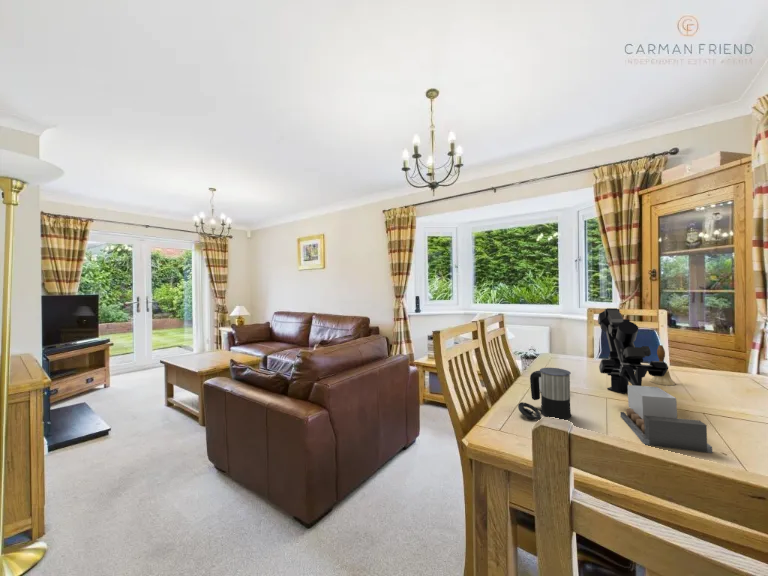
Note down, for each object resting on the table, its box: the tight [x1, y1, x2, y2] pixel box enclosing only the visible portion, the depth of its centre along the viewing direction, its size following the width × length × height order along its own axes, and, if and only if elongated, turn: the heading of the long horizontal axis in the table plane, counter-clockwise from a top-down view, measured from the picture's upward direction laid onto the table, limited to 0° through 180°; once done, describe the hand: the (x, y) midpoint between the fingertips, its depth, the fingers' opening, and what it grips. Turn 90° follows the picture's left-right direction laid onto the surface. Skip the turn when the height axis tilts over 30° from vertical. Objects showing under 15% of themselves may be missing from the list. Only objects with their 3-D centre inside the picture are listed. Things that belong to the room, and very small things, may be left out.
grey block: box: [627, 384, 678, 420], centre depth 98 cm, size 12×8×7 cm, turn 159°
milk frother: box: [517, 367, 573, 420], centre depth 107 cm, size 14×16×15 cm
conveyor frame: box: [620, 411, 713, 454], centre depth 92 cm, size 19×14×7 cm
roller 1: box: [626, 408, 636, 420], centre depth 100 cm, size 11×3×3 cm, turn 69°
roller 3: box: [635, 419, 644, 431], centre depth 92 cm, size 11×3×3 cm, turn 69°
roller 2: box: [631, 414, 642, 425], centre depth 96 cm, size 11×3×3 cm, turn 69°
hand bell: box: [649, 344, 677, 386], centre depth 136 cm, size 8×8×16 cm
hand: (639, 389), depth 106 cm, fingers closed
